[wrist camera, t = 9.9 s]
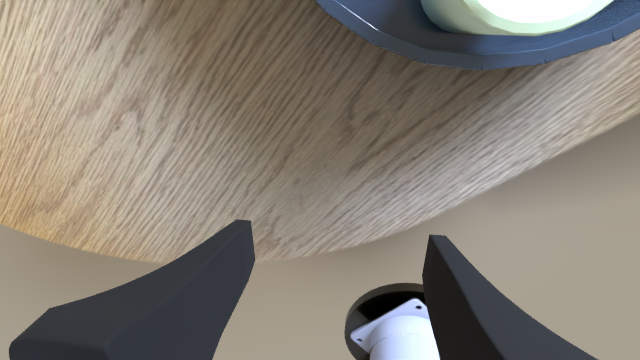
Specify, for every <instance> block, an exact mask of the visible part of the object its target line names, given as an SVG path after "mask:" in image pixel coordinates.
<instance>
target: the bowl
mask: <svg viewBox="0 0 640 360" xmlns="http://www.w3.org/2000/svg"><path fill="white" fill-rule="evenodd" d="M314 1H315V2H316V3H317V4H318V5H319V7H320V8H321V9H322V10H324V12H326V13H327V14H328V15H330V16H331V17H333V18H334V19H336V20H337V21H338V22H340V23H341V24H343V25H344V26H346V27H347V28H349V29H350V30H351V31H353V32H354V33H356V34H357V35H359V36H360V37H361V38H363V39H364V40H366V41H367V42H369V43H371V44H372V45H375V46H378V47H380V48H383V49H386V50H388V51H391V52H393V53H396V54H399V55H401V56H404V57H407V58H409V59H412V60H415V61H417V62H420V63H424V64H430V65H438V66H446V67H454V68H463V69H471V70H482V71H483V70H492V69H502V68H512V67H521V66H531V65H541V64H544V63H545V64H546V63H549V62H552V61H555V60H558V59H562V58H565V57H568V56H571V55H575V54H578V53H581V52H584V51H588V50H591V49H594V48H597V47H600V46H604V45H607V44H610V43H612V42H615V41H617V40H619V39H621V38H623V37H625V36H627V35H629V34H631V33H633V32H634V31H636V30H638V29H640V0H613V2H611V3H610V4H609V5H607V6H606V7H604V8H603V9H602V10H600V11H599V12H598V13H596V14H595V15H594V16H592V17H591V18H590V19H588V20H586V21H584V22H581V23H579V24H577V25H575V26H572V27H570V28H568V29H566V30H563V31H560V32H555V33H549V34H544V35H539V36H516V35H483V34H456V33H451V32H448V31H445V30H443V29H441V28H439V27H438V26H437V25H435V24H434V23H433V22H432V21H431V20H430V19H429V17H428V16H427V15H426V13H425V12H424V9H423V7H422V4H421V1H420V0H314Z"/></svg>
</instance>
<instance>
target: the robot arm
mask: <svg viewBox="0 0 640 360" xmlns="http://www.w3.org/2000/svg"><path fill="white" fill-rule="evenodd" d="M254 262H255V253H254V245H253V236H252V227H251V221H248V220H235V221H234V222H232V223H231V224H229V225H228V226H226V227H225V228H223V229H222V230H220V231H219V232H218V233H216V234H215V235H213V236H212V237H210V238H209V239H207V240H206V241H205V242H203V243H202V244H200V245H199V246H197V247H195V248H194V249H192V250H191V251H189V252H187V253H186V254H184V255H182V256H181V257H179V258H178V259H176V260H174V261H172V262H170V263H169V264H167V265H165V266H163V267H161V268H159V269H157V270H155V271H153V272H151V273H149V274H147V275H145V276H142V277H140V278H137V279H135V280H133V281H131V282H128V283H126V284H124V285H121V286H118V287H116V288H113V289H111V290H108V291H105V292H102V293H99V294H96V295H94V296H91V297H87V298H84V299H81V300H77V301H74V302H70V303H67V304H64V305H60V306H57V307H53V308H49V309H48V310H47V311H46V312H45V313H44V314H43V315H42V316H41V317H39V318H38V319H37V320H36V321H35V322H34V323H33V324H32V325H30V326H29V327H28V328H27V329H26V330H25V331H24V332H23V333H22V334H20V335H19V336H18V337H17V338H16V339H15V340H14V341H13V342H12V343H11V345H10V347H9V357H10V360H212V358H213V356H214V353H215V350H216V348H217V345H218V343H219V339H220V337H221V335H222V333H223V331H224V329H225V327H226V325H227V322H228V321H229V319H230V317H231V315H232V312H233V311H234V309H235V307H236V305H237V303H238V301H239V298H240V297H241V294H242V292H243V290H244V288H245V286H246V284H247V282H248V280H249V277H250V274H251V271H252V268H253V265H254ZM422 277H423V287H424V295H425V301H426V305H425V304H424V303H423V302H422V301H421V300H420V299H419V298H417V297H412V298H410V299H408V300H406V301H405V302H403V303H401V304H399V305H398V306H396V307H394V308H392V309H391V310H389V311H387V312H385V313H384V314H382V315H380V316H378V317H377V318H375V319H373V320H371V321H370V322H368V323H366V324H364V325H363V326H361V327H359V328H357V329H356V330H354V331H352V332H351V339H352V340H353V341H355V342H356V343H357V344H358V345H359V346H360V347H362V348H363V349H364V350H365V351H366V352H368V353H369V354H370V360H598V359H596V358H594V357H593V356H591V355H589V354H587V353H586V352H584V351H583V350H581V349H579V348H578V347H576V346H574V345H573V344H571V343H569V342H568V341H566V340H565V339H563V338H561V337H560V336H558V335H557V334H555V333H554V332H552V331H551V330H549V329H548V328H546V327H545V326H543V325H542V324H541V323H539V322H538V321H536V320H535V319H533V318H532V317H531V316H529V315H528V314H527V313H525V312H524V311H523V310H521V309H520V308H519V307H518V306H516V305H515V304H514V303H513V302H512V301H510V300H509V299H508V298H506V297H505V296H504V295H503V294H502V293H501V292H500V291H499V290H497V289H496V288H495V287H494V286H493V285H492V284H491V283H490V282H489V281H488V280H487V279H486V278H485V277H484V276H483V275H481V273H479V271H478V270H477V269H476V268H475V267H474V266H473V265H472V264H471V263H470V262H469V261H468V260H467V259H466V258H465V257H464V256H463V255H462V253H461V252H460V251H459V250H458V249H457V248H456V247H455V246H454V244H453V243H452V242H451V241H450V240H449V239H448V238H447V237H446V236H441V235H429V240H428V245H427V251H426V257H425V262H424V268H423V274H422ZM417 306H419V307H417Z"/></svg>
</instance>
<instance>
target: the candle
mask: <svg viewBox="0 0 640 360" xmlns="http://www.w3.org/2000/svg"><path fill="white" fill-rule="evenodd" d="M420 1H421V4H422V7H423V9H424V12H425V13H426V15H427V16H428V17H429V19H430V20H431V21H432V22H433V23H434V24H435V25H437V26H438V27H439V28H441V29H443V30H445V31H448V32H451V33H456V34H483V35H516V36H539V35H544V34H549V33H555V32H560V31H563V30H566V29H568V28H570V27H572V26H575V25H577V24H579V23H581V22H584V21H586V20H588V19H590V18H591V17H592V16H594V15H595V14H596V13H598V12H599V11H600V10H602V9H603V8H604V7H606V6H607V5H609V4H610V3H611V2H613V0H420Z"/></svg>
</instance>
